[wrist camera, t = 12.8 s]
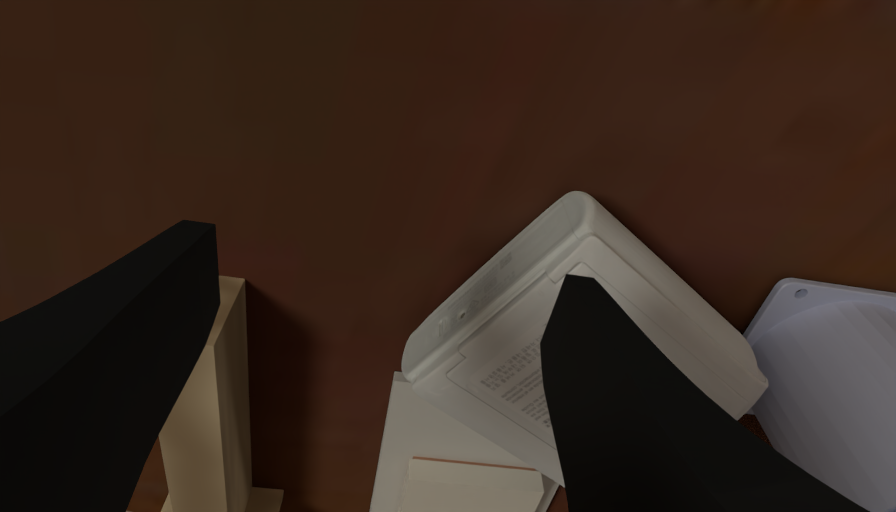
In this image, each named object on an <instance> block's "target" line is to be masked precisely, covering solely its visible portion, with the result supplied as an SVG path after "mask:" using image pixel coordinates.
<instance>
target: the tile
mask: <svg viewBox="0 0 896 512" xmlns="http://www.w3.org/2000/svg"><path fill="white" fill-rule="evenodd" d="M543 494H544V489H543V482H542V476H541V472H539V471H536V470H535V469H534V468H526V467H516V466H506V465H496V464H486V463H476V462H466V461H456V460H446V459H436V458H426V457H417V456H413V459H409V463H408V468H407V472H406V476H405V481H404V485H403V489H402V494H401V498H400V502H399V507H398V511H397V512H535V510H536V508H537V506H538V504H539V502H540V500H541V498H542V496H543Z"/></svg>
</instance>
